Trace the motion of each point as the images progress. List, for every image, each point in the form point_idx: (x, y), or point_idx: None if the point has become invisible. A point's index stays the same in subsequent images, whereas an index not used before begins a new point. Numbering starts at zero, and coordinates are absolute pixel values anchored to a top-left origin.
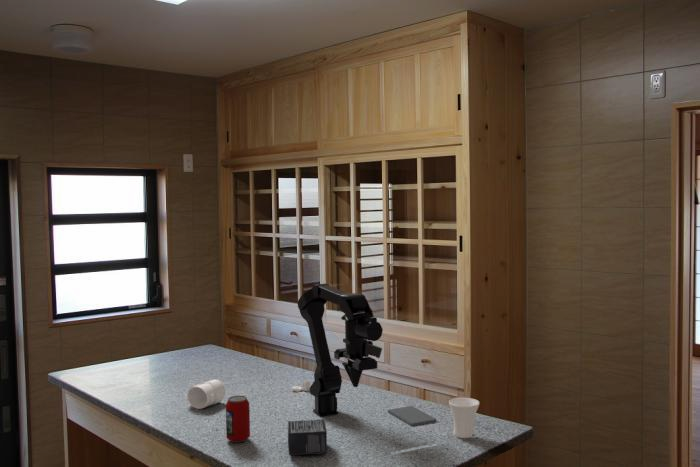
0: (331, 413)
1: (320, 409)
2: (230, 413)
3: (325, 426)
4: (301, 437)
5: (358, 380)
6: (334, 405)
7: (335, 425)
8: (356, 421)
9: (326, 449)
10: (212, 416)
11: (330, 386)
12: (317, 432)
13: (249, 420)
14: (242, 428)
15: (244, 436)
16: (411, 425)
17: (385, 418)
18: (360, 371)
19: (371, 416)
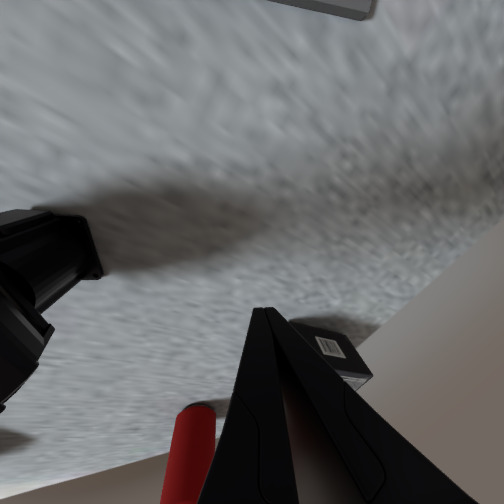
0: (91, 243)
1: (73, 280)
2: None
3: (348, 372)
4: None
5: (307, 351)
6: (45, 231)
7: (204, 268)
8: (197, 199)
9: (349, 341)
10: (45, 435)
11: (14, 334)
12: (360, 385)
13: (201, 445)
14: (214, 439)
15: (215, 418)
16: (363, 16)
17: (214, 65)
18: (426, 496)
19: (163, 111)
